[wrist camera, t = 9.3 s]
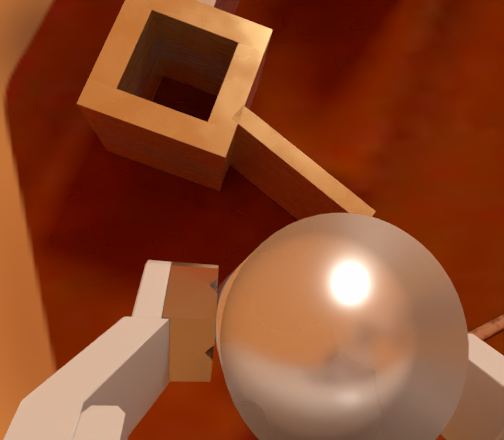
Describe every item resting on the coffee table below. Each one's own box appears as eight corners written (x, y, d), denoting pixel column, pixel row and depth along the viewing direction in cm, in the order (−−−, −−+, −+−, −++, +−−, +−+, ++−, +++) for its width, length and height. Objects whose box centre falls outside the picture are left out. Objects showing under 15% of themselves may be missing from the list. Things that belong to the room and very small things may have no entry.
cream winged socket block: (330, 244, 29) (371, 227, 22) (102, 163, 28) (69, 119, 21) (394, 29, 32) (445, -43, 26) (194, -48, 32) (192, -144, 25)
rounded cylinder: (315, 316, 15) (515, 345, 5) (250, 378, 15) (347, 543, 5) (257, 250, 15) (349, 165, 6) (191, 309, 15) (164, 329, 5)
